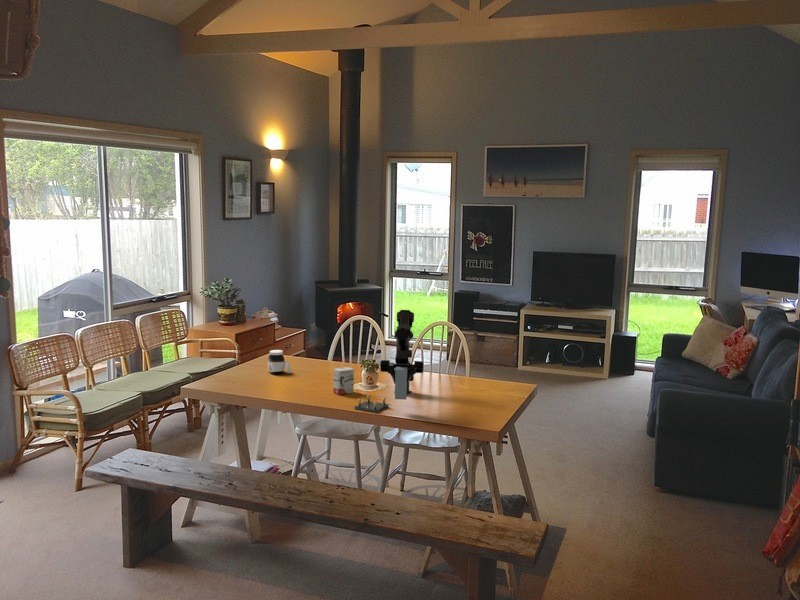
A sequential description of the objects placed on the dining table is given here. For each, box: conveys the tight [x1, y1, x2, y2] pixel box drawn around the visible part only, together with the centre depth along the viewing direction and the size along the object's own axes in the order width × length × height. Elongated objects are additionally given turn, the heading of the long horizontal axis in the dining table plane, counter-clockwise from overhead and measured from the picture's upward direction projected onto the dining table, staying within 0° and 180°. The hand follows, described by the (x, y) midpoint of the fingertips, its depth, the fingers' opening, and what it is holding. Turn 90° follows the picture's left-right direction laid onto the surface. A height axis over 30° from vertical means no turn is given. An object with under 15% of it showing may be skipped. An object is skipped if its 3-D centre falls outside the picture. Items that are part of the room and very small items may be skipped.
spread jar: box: [267, 349, 292, 375], centre depth 366 cm, size 12×11×12 cm
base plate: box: [354, 394, 389, 414], centre depth 307 cm, size 11×11×4 cm
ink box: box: [333, 366, 355, 396], centre depth 330 cm, size 9×5×12 cm, turn 126°
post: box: [394, 367, 408, 401], centre depth 300 cm, size 5×5×13 cm
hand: (400, 383), depth 299 cm, fingers closed on post, 5 cm apart
